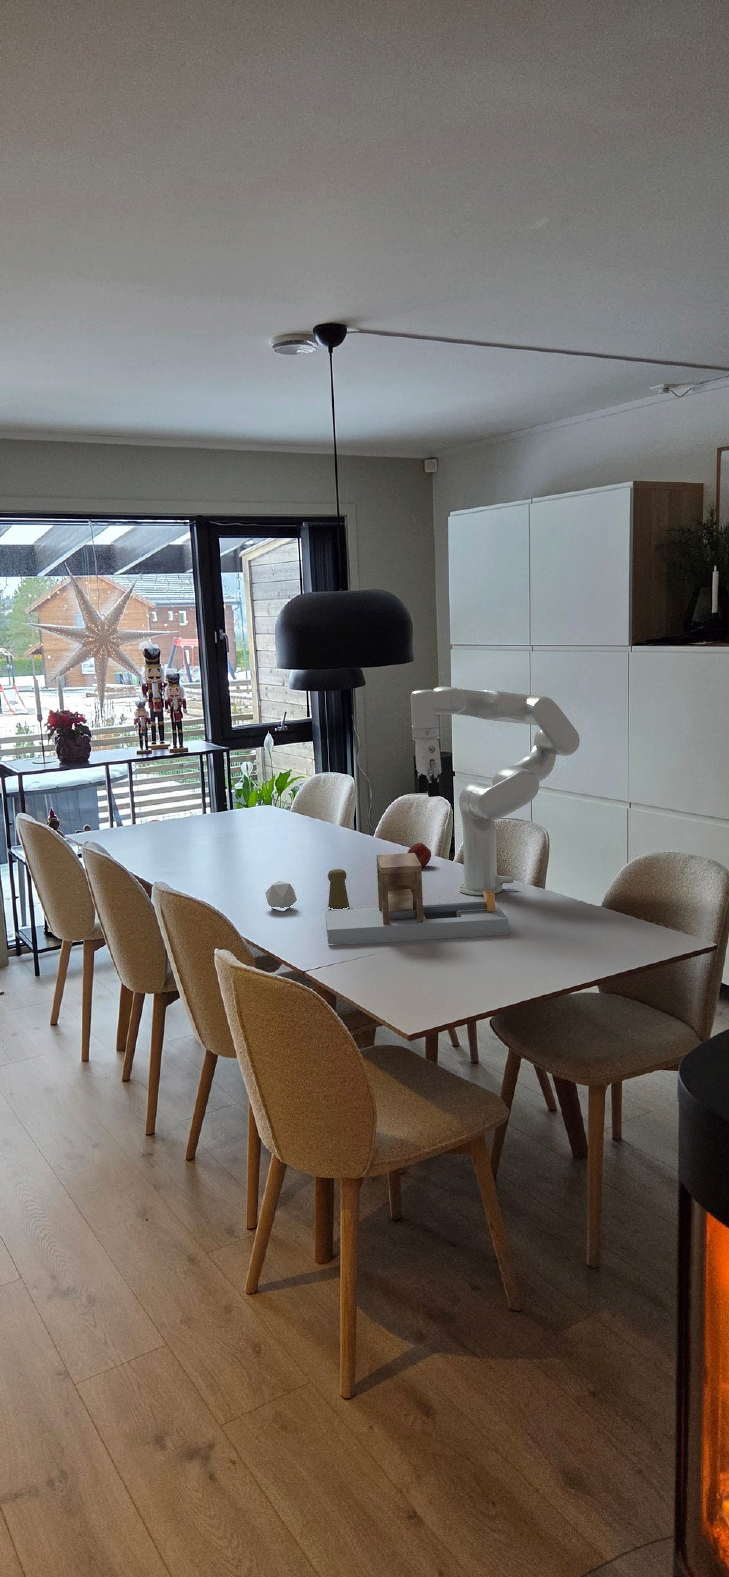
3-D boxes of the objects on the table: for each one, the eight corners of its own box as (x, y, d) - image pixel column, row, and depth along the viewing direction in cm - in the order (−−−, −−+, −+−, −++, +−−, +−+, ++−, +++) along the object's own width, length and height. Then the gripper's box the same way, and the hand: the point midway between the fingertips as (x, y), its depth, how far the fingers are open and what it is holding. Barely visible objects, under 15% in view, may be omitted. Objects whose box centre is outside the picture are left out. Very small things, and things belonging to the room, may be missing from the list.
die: (303, 911, 292) (299, 880, 296) (287, 903, 285) (283, 871, 289) (279, 920, 295) (274, 889, 299) (262, 912, 288) (258, 881, 292)
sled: (490, 904, 272) (489, 887, 271) (496, 913, 263) (496, 895, 262) (381, 910, 270) (380, 893, 269) (384, 920, 261) (383, 902, 261)
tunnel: (416, 906, 274) (414, 852, 271) (423, 922, 259) (421, 865, 257) (378, 909, 273) (376, 855, 271) (383, 924, 258) (381, 867, 256)
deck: (494, 915, 277) (494, 900, 276) (508, 934, 259) (508, 918, 259) (326, 925, 274) (325, 910, 274) (328, 945, 257) (327, 929, 256)
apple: (430, 869, 333) (429, 845, 332) (406, 869, 334) (405, 845, 333) (432, 864, 340) (431, 840, 339) (408, 864, 342) (407, 840, 340)
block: (410, 911, 269) (410, 889, 268) (413, 917, 263) (412, 894, 262) (387, 913, 269) (386, 890, 268) (389, 919, 263) (388, 896, 262)
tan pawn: (325, 907, 293) (323, 868, 292) (345, 904, 295) (343, 866, 294) (332, 911, 288) (330, 873, 286) (352, 909, 290) (350, 870, 288)
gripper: (447, 735, 284) (450, 797, 287) (429, 730, 301) (432, 788, 303) (421, 737, 282) (424, 799, 285) (404, 732, 299) (408, 791, 302)
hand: (428, 794), depth 294 cm, fingers open, 9 cm apart
